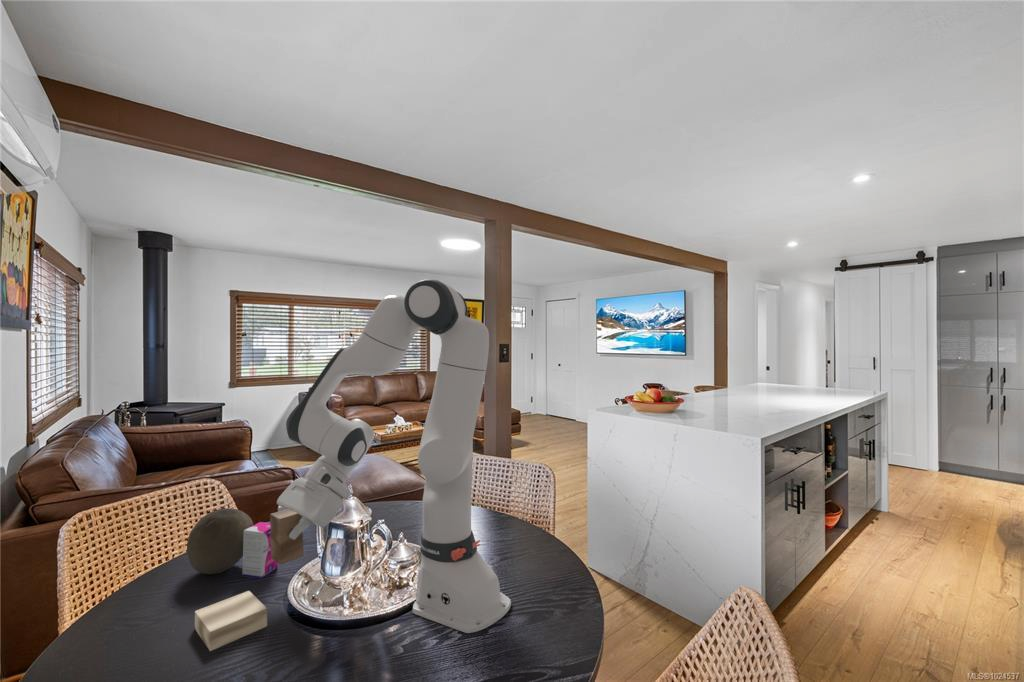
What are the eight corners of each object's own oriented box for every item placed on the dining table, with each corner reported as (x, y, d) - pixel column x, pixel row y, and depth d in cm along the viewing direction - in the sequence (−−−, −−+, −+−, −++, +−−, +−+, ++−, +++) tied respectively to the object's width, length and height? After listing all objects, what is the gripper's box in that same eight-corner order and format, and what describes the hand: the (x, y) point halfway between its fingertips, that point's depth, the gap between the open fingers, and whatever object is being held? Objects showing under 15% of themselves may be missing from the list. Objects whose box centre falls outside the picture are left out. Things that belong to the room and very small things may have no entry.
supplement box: (262, 579, 111) (262, 532, 111) (241, 576, 112) (241, 530, 112) (279, 567, 116) (279, 523, 116) (259, 565, 118) (259, 521, 118)
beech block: (266, 627, 92) (266, 608, 92) (210, 653, 85) (210, 631, 85) (249, 608, 99) (249, 590, 99) (194, 630, 92) (194, 611, 92)
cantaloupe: (217, 588, 107) (218, 524, 107) (172, 579, 110) (172, 518, 110) (265, 560, 120) (265, 504, 120) (223, 553, 124) (223, 498, 124)
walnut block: (303, 556, 103) (302, 512, 103) (280, 564, 100) (279, 519, 100) (293, 550, 107) (292, 507, 107) (271, 558, 103) (270, 513, 103)
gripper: (295, 466, 115) (254, 516, 108) (336, 480, 102) (294, 539, 94) (313, 479, 119) (274, 529, 111) (355, 495, 105) (315, 552, 98)
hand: (284, 534), depth 103 cm, fingers closed on walnut block, 5 cm apart
